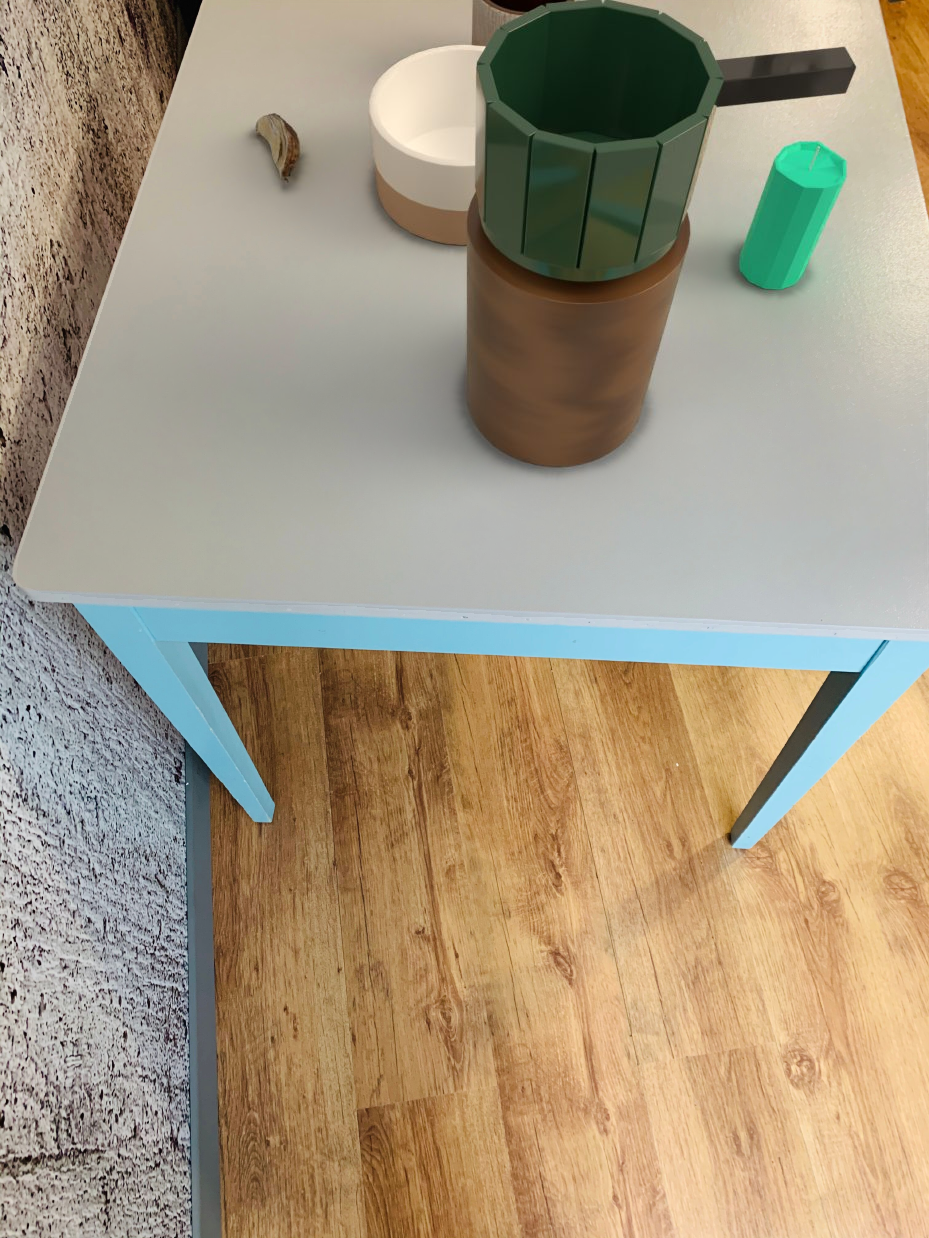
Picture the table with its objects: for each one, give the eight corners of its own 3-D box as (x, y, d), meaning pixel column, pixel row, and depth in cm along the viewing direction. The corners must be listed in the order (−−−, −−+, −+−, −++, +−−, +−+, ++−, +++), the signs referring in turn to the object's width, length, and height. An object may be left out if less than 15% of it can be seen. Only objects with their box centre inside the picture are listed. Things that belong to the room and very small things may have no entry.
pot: (497, 294, 53) (502, 163, 45) (462, 150, 59) (461, 11, 51) (836, 253, 54) (900, 119, 46) (769, 116, 60) (816, -24, 52)
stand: (609, 315, 77) (646, 131, 61) (666, 446, 71) (724, 279, 55) (448, 346, 75) (443, 167, 60) (492, 483, 69) (500, 323, 53)
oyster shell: (276, 187, 91) (308, 188, 83) (243, 173, 88) (271, 173, 81) (290, 126, 89) (323, 122, 81) (256, 111, 87) (287, 105, 79)
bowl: (532, 259, 80) (539, 179, 72) (356, 230, 82) (345, 149, 74) (564, 141, 87) (573, 57, 80) (401, 117, 89) (395, 32, 81)
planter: (460, 106, 90) (460, 8, 81) (483, 44, 94) (485, -55, 85) (562, 122, 88) (572, 24, 80) (580, 59, 93) (592, -41, 84)
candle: (772, 300, 78) (822, 182, 67) (724, 263, 80) (765, 143, 69) (816, 270, 79) (872, 150, 68) (768, 234, 81) (815, 113, 70)
